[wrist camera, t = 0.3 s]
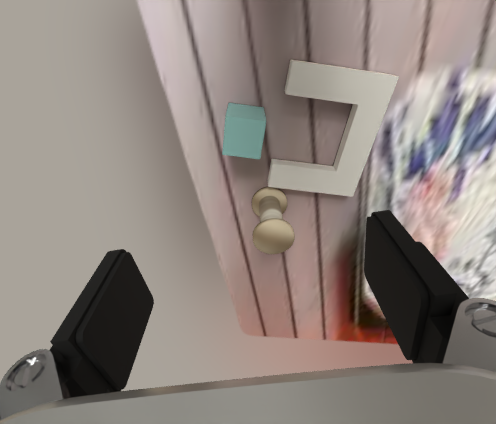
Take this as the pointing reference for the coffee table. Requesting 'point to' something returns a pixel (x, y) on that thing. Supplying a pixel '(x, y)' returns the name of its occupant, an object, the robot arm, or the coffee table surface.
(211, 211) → the coffee table surface
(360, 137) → the notched board
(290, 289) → the coffee table surface
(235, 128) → the block
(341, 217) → the coffee table surface
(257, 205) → the bobbin
